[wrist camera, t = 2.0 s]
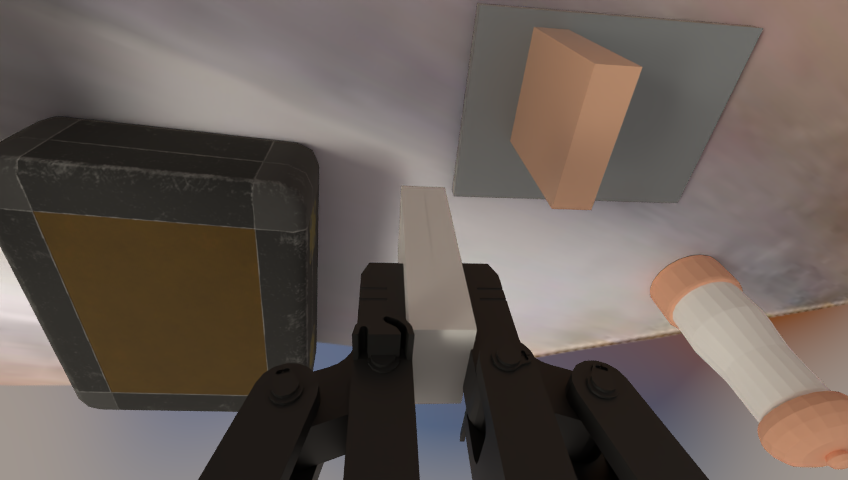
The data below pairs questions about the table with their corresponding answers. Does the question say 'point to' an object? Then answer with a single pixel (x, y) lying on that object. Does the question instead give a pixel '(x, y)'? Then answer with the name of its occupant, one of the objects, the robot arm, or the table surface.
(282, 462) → the robot arm
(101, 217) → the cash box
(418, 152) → the table surface
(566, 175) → the tile
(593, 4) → the table surface
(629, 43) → the slate board
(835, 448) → the salt shaker
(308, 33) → the table surface
